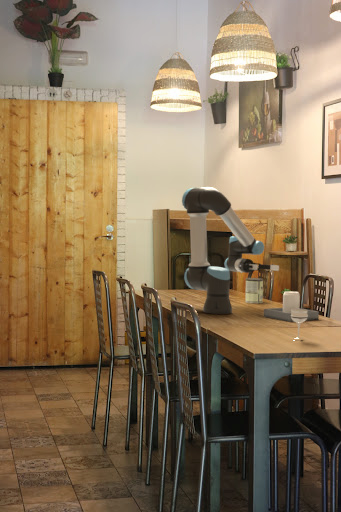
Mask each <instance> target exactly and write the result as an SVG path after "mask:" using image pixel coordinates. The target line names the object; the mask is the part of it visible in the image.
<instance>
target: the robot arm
mask: <svg viewBox="0 0 341 512" xmlns="http://www.w3.org/2000/svg"><path fill="white" fill-rule="evenodd" d="M181 197H182V199H181V203H182V204H181V205H182V206H183V208H184V209H185V210H186V214H187V216H188V217H189V230H190V231H189V232H190V263H189V264H188V268H186V270H185V271H184V277H183V279H184V282H185V284H186V286H187V287H188V288H190V289H192V290H195V291H204V292H205V291H206V298H205V301H204V304H203V306H202V313H204V314H210V315H211V314H212V315H213V314H214V315H216V314H217V315H230V314H233V307H232V303H231V299H230V285H231V284H230V283H231V276H230V274H231V273H230V272H236V273H240V274H242V273H245V274H249V273H252V272H253V271H260V270H270V271H275V272H276V271H277V272H279V271H280V265H276V264H273V263H271V264H261V263H257V262H254V261H253V260H252V259H250V258H243V255H251V256H252V255H254V256H258V255H261V254H263V252H264V251H265V244H264V242H262V241H261V240H257V239H256V238H255V237H254V236H253V234H252V233H251V232H250V230H249V229H248V227H247V226H246V225H245V224H244V222H243V221H242V220H241V218H240V217H239V215H238V214H237V213H236V212H235V210H234V209H233V208H232V203H231V202H230V201H229V199H228V198H227V197H226V195H224V194H223V193H222V192H220V191H219V190H218V189H216V188H215V187H210V186H206V187H191V188H188V189H186V190H185V192H184V193H183V195H182V196H181ZM210 211H211V212H213V213H214V214H215V215H216V216H218V217H219V218H221V220H222V221H223V223H224V224H225V225H226V226H227V228H228V229H229V231H231V233H232V234H233V235H234V236H233V235H232V236H231V235H230V237H229V240H228V241H229V242H228V256H227V258H226V259H225V261H224V267H221V266H215V265H214V266H213V265H212V266H211V264H210V262H209V261H208V240H207V239H208V237H207V234H208V233H207V230H208V229H207V216H208V215H209V213H210Z"/></svg>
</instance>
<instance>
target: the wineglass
mask: <svg viewBox="0 0 341 512" xmlns="http://www.w3.org/2000/svg"><path fill="white" fill-rule="evenodd" d="M302 309H303V308H301V309H292V310H291V311H292V313H291V319H292V320H293V321H292V322H294V323H296V325H297V337H296V338H294V339H302V338H300V329H301V328H300V327H301V324H302V323H304V322H305V320H306V319H307V317H308V315H307V311H308V310H309V309H306V310H302Z"/></svg>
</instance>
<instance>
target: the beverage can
mask: <svg viewBox="0 0 341 512" xmlns="http://www.w3.org/2000/svg"><path fill="white" fill-rule="evenodd" d="M300 296H301V294H300V293H299V291H290V290H289V291H284V292H283V295H282V308H283V312H286V313H292V311H291V310H292V309H299V308H300V304H301V303H300V300H301V299H300V298H301V297H300Z"/></svg>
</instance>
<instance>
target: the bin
mask: <svg viewBox="0 0 341 512" xmlns="http://www.w3.org/2000/svg"><path fill="white" fill-rule="evenodd" d="M299 309H302V310H308V311H307V315H308V317H307V319H306V320H305V321H307V322H308V321H318V320H319V311H317V310H313V309H306V308H300V307H299ZM263 317H265V318H268V319H272V320H277V321H283V322H288V323H289V322H294V321H293V320H292V319H291V313H286V312H283V307H273V308H263ZM305 321H304V322H305Z"/></svg>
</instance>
